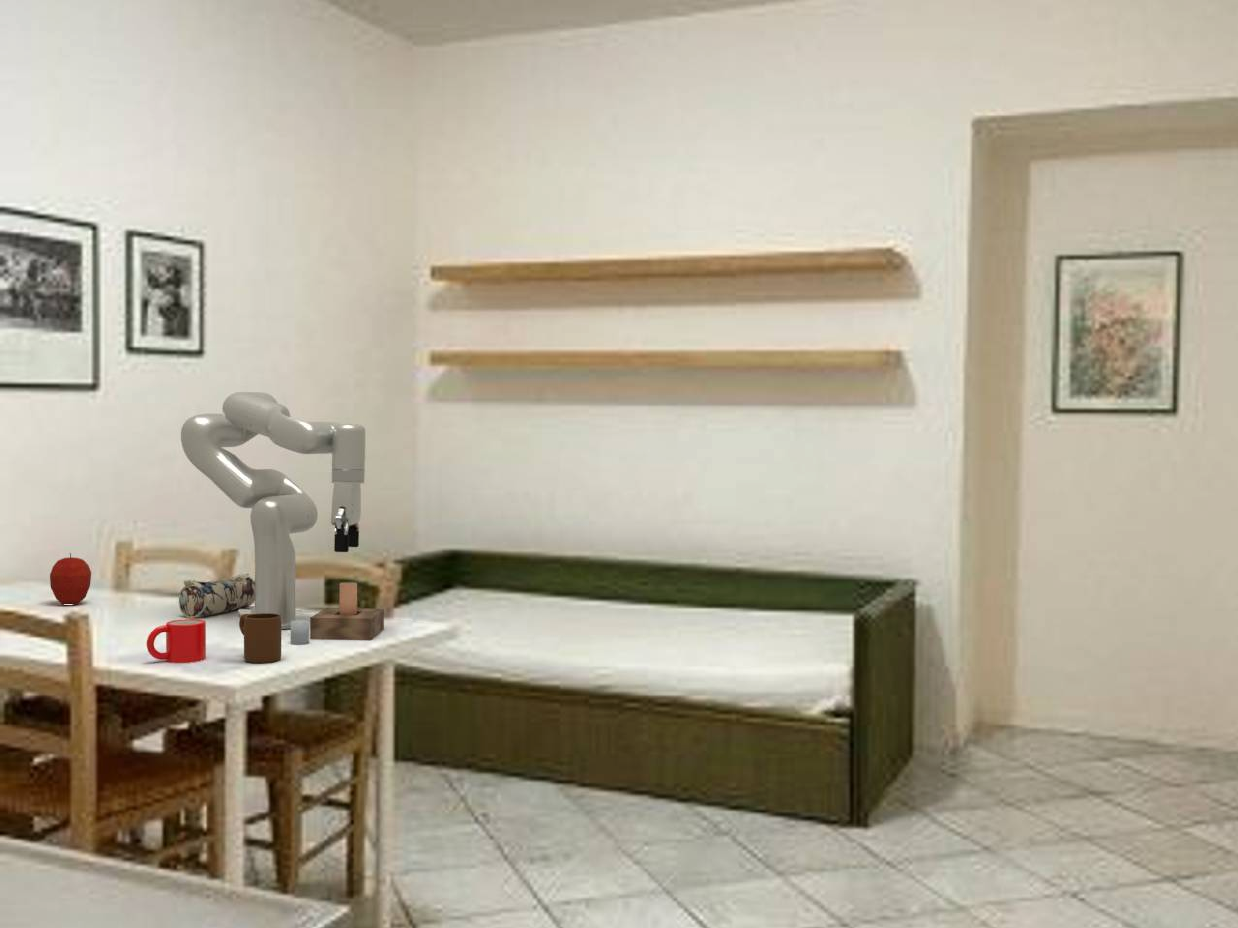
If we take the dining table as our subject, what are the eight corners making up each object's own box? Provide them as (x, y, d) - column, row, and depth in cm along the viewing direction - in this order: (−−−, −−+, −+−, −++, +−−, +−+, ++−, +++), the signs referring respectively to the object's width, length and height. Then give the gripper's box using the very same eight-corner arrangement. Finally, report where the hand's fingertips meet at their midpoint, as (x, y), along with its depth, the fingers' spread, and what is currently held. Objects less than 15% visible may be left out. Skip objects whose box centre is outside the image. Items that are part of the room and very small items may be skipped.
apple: (97, 605, 328) (97, 553, 327) (58, 608, 321) (58, 555, 320) (82, 600, 335) (82, 549, 334) (44, 604, 328) (43, 552, 327)
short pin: (288, 644, 276) (288, 622, 276) (293, 641, 280) (293, 619, 280) (306, 645, 276) (306, 622, 276) (310, 641, 280) (310, 619, 280)
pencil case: (202, 620, 307) (202, 581, 306) (176, 617, 310) (175, 579, 310) (260, 608, 327) (260, 571, 327) (235, 605, 330) (235, 569, 330)
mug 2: (225, 657, 261) (225, 613, 261) (256, 652, 267) (256, 609, 267) (257, 665, 253) (257, 620, 253) (288, 660, 259) (288, 615, 259)
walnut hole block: (310, 639, 283) (310, 617, 283) (326, 628, 297) (326, 607, 297) (370, 640, 283) (370, 618, 283) (383, 629, 297) (384, 608, 297)
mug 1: (140, 660, 257) (140, 623, 256) (197, 654, 265) (197, 617, 264) (154, 667, 251) (153, 628, 250) (211, 659, 258) (211, 622, 258)
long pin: (337, 635, 288) (337, 584, 288) (341, 632, 292) (341, 582, 292) (354, 635, 288) (354, 584, 287) (358, 632, 292) (358, 582, 291)
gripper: (341, 474, 297) (339, 544, 298) (322, 478, 280) (320, 553, 281) (372, 475, 297) (370, 545, 298) (355, 479, 280) (353, 554, 281)
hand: (346, 549), depth 289 cm, fingers open, 9 cm apart
